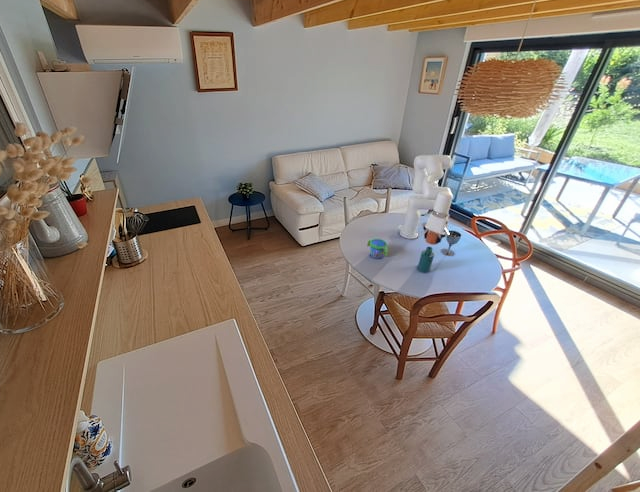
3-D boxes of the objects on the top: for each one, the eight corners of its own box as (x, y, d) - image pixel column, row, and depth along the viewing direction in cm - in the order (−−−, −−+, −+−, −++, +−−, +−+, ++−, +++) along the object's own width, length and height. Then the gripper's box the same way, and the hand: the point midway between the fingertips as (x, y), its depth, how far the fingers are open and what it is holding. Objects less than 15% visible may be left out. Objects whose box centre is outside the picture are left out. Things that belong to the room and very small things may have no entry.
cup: (423, 241, 168) (425, 232, 165) (428, 237, 171) (431, 229, 168) (433, 245, 163) (436, 237, 160) (439, 242, 167) (442, 233, 164)
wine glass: (456, 256, 189) (463, 237, 181) (443, 255, 190) (449, 236, 183) (452, 249, 195) (458, 231, 188) (439, 248, 197) (445, 230, 189)
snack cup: (362, 251, 195) (364, 239, 190) (374, 247, 199) (376, 235, 194) (378, 264, 182) (380, 251, 177) (390, 259, 186) (393, 246, 181)
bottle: (415, 268, 178) (421, 247, 170) (421, 264, 182) (427, 243, 174) (425, 274, 173) (432, 252, 166) (431, 269, 177) (438, 248, 169)
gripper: (459, 217, 154) (449, 244, 163) (428, 206, 166) (421, 232, 175) (452, 221, 150) (443, 249, 159) (421, 209, 162) (414, 236, 171)
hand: (431, 240), depth 167 cm, fingers closed on cup, 6 cm apart
